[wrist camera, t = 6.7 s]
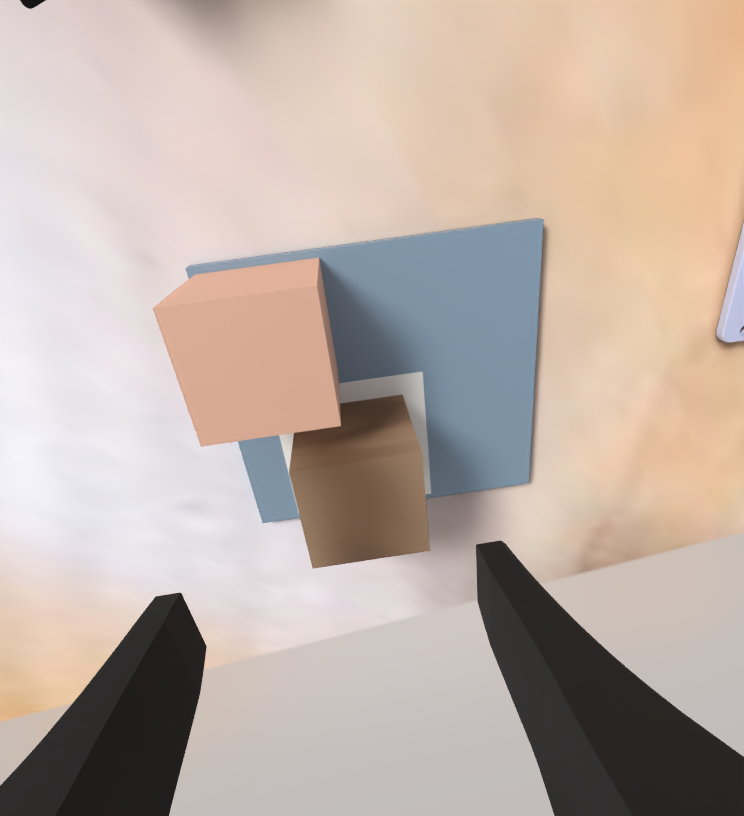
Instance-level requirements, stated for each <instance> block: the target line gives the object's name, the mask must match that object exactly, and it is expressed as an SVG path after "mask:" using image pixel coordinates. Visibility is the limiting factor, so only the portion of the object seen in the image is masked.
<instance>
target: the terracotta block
mask: <svg viewBox="0 0 744 816" xmlns="http://www.w3.org/2000/svg"><path fill="white" fill-rule="evenodd" d="M153 310H154V313H155V316H156V319H157V322H158V325H159V328H160V330H161V333H162V336H163V339H164V342H165V345H166V348H167V351H168V353H169V356H170V359H171V362H172V365H173V368H174V371H175V373H176V376H177V379H178V382H179V385H180V388H181V391H182V393H183V396H184V399H185V402H186V405H187V408H188V411H189V413H190V416H191V419H192V422H193V425H194V428H195V431H196V433H197V436H198V439H199V442H200V445H201V446H207V445H214V444H221V443H228V442H235V441H242V440H249V439H255V438H262V437H269V436H276V435H283V434H290V433H297V432H303V431H310V430H317V429H324V428H331V427H338V426H341V416H340V398H339V380H338V368H337V362H336V356H335V350H334V344H333V338H332V332H331V326H330V320H329V314H328V308H327V302H326V296H325V290H324V284H323V278H322V271H321V265H320V259H319V258H311V259H304V260H297V261H289V262H282V263H275V264H268V265H260V266H253V267H246V268H238V269H231V270H224V271H217V272H209V273H202V274H195V275H194V276H192V277H191V278H190V279H189V280H187V281H186V282H185V283H184V284H182V285H181V286H180V287H179V288H177V289H176V290H175V291H174V292H172V293H171V294H170V295H169V296H167V297H166V298H165V299H164V300H162V301H161V302H160V303H159V304H157V305H156V306H155V307H154V308H153Z"/></svg>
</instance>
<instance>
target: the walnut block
mask: <svg viewBox="0 0 744 816" xmlns="http://www.w3.org/2000/svg"><path fill="white" fill-rule="evenodd" d="M340 416H341V426H338V427H331V428H324V429H317V430H310V431H303V432H297V433H294V436H293V444H292V452H291V460H290V468H289V475H290V479H291V483H292V487H293V491H294V495H295V499H296V503H297V507H298V511H299V515H300V519H301V523H302V527H303V531H304V535H305V539H306V543H307V547H308V551H309V555H310V559H311V563H312V567H313V568H319V567H326V566H332V565H339V564H345V563H352V562H359V561H365V560H372V559H378V558H385V557H391V556H398V555H404V554H411V553H417V552H424V551H430V548H429V535H428V522H427V509H426V496H425V483H424V470H423V457H422V451H421V448H420V445H419V442H418V439H417V436H416V433H415V430H414V427H413V424H412V421H411V418H410V415H409V412H408V409H407V406H406V403H405V400H404V397H403V395H396V396H389V397H382V398H375V399H368V400H361V401H354V402H347V403H340Z"/></svg>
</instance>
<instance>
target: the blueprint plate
mask: <svg viewBox="0 0 744 816" xmlns="http://www.w3.org/2000/svg"><path fill="white" fill-rule="evenodd" d="M543 220H544V219H540V218H535V219H527V220H520V221H513V222H505V223H498V224H491V225H483V226H476V227H469V228H461V229H454V230H447V231H440V232H432V233H425V234H418V235H410V236H403V237H396V238H388V239H381V240H374V241H366V242H359V243H352V244H344V245H337V246H330V247H323V248H315V249H308V250H301V251H293V252H286V253H279V254H271V255H264V256H257V257H249V258H242V259H235V260H228V261H220V262H213V263H206V264H198V265H191V266H188V267H187V268H186V271H187V274H188V277H189V279H190V278H191V277H192V276H194V275H195V274H202V273H209V272H217V271H224V270H231V269H238V268H246V267H253V266H260V265H268V264H275V263H282V262H289V261H297V260H304V259H311V258H319V259H320V265H321V271H322V278H323V284H324V290H325V296H326V302H327V308H328V314H329V320H330V326H331V332H332V338H333V344H334V350H335V356H336V362H337V368H338V380H339V398H340V403H347V402H354V401H361V400H368V399H375V398H382V397H389V396H396V395H403V397H404V400H405V403H406V406H407V409H408V412H409V415H410V418H411V421H412V424H413V427H414V430H415V433H416V436H417V439H418V442H419V445H420V448H421V451H422V457H423V470H424V483H425V496H426V499H427V498H433V497H440V496H447V495H453V494H460V493H467V492H473V491H480V490H486V489H493V488H500V487H506V486H513V485H520V484H526V483H529V469H530V451H531V433H532V416H533V398H534V380H535V362H536V345H537V327H538V309H539V291H540V274H541V256H542V238H543ZM293 436H294V433H290V434H283V435H276V436H269V437H262V438H255V439H249V440H242V441H238V443H239V446H240V450H241V453H242V456H243V459H244V463H245V466H246V469H247V473H248V476H249V479H250V483H251V486H252V489H253V493H254V496H255V499H256V502H257V506H258V509H259V512H260V516H261V519H262V522H263V523H267V522H273V521H280V520H287V519H293V518H300V515H299V511H298V507H297V503H296V499H295V495H294V491H293V487H292V483H291V479H290V475H289V468H290V460H291V452H292V444H293Z"/></svg>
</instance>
